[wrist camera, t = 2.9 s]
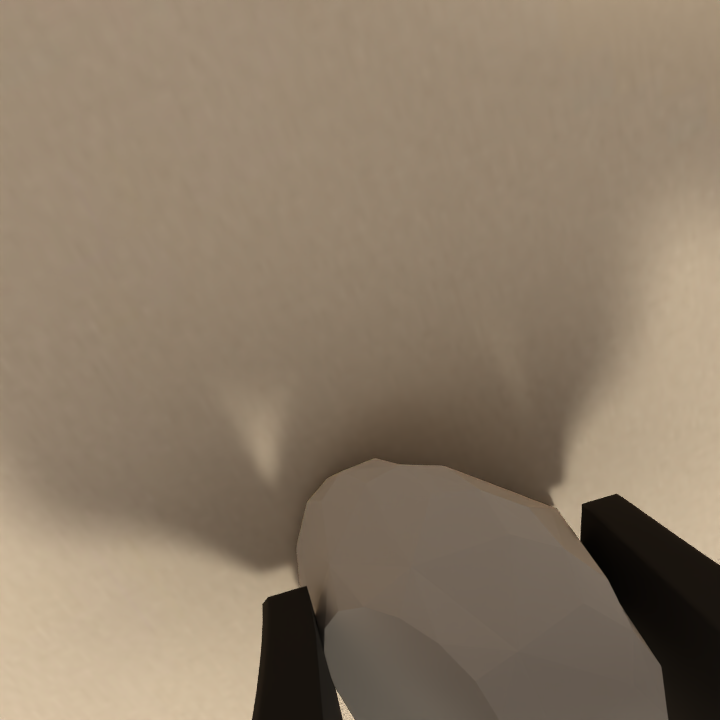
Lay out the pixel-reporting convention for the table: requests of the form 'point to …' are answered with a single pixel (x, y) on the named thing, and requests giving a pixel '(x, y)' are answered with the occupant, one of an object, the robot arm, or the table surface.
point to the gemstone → (465, 604)
